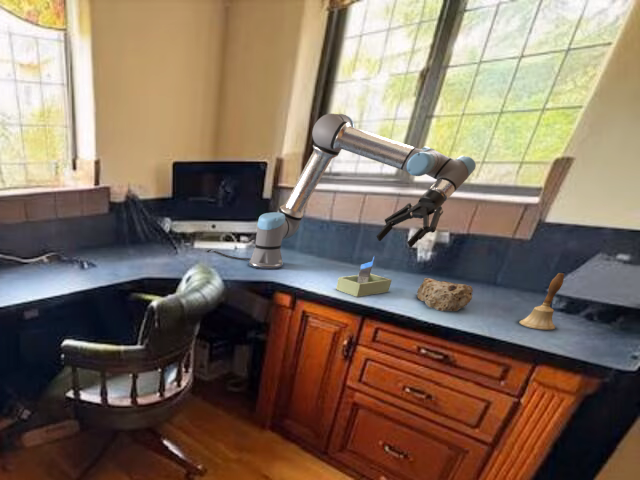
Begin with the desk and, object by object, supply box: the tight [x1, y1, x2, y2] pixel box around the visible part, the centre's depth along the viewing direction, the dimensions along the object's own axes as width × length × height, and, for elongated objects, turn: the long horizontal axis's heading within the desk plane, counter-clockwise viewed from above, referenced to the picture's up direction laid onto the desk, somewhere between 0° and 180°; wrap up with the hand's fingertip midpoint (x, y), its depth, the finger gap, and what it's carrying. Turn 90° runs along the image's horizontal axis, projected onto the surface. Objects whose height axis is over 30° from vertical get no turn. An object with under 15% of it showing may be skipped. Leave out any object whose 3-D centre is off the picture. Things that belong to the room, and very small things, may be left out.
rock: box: [416, 277, 474, 312], centre depth 147 cm, size 21×14×10 cm
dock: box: [335, 273, 392, 298], centre depth 163 cm, size 11×16×5 cm
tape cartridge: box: [357, 254, 376, 284], centre depth 161 cm, size 9×4×12 cm, turn 152°
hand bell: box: [519, 272, 565, 331], centre depth 125 cm, size 8×8×16 cm
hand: (393, 241), depth 159 cm, fingers open, 13 cm apart
